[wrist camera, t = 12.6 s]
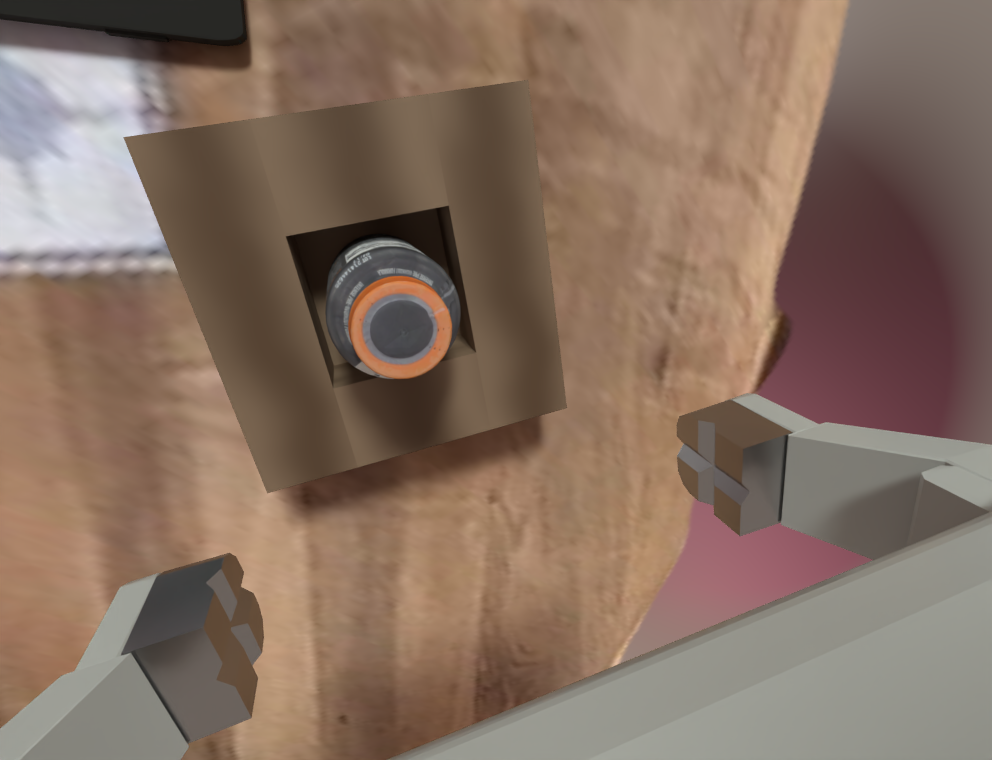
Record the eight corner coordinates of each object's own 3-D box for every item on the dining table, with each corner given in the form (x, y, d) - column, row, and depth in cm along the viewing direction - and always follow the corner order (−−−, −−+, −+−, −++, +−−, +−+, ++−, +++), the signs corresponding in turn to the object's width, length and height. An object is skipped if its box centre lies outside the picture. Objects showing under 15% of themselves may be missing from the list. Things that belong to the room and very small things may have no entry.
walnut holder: (277, 451, 33) (267, 493, 28) (161, 146, 26) (123, 137, 21) (538, 380, 36) (566, 408, 32) (498, 96, 29) (528, 79, 25)
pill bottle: (393, 352, 32) (419, 429, 21) (307, 296, 29) (288, 354, 19) (450, 274, 31) (505, 315, 21) (367, 210, 28) (382, 221, 18)
